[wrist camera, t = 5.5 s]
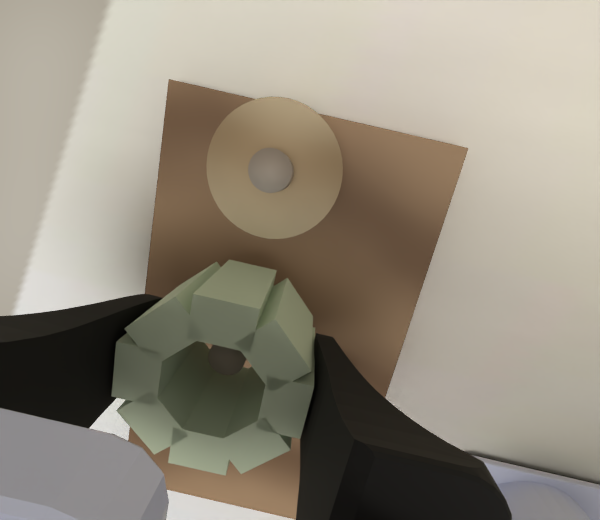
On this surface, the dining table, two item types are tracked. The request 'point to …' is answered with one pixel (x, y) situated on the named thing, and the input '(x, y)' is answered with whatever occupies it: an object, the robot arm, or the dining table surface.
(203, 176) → the gear board
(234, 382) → the gear
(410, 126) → the dining table surface
